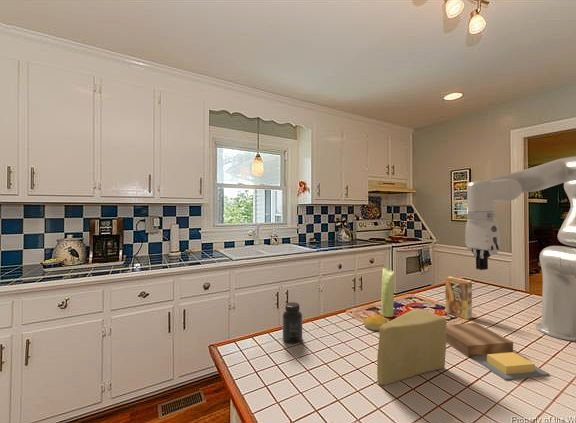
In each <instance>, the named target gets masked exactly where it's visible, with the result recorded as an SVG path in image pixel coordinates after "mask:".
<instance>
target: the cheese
mask: <svg viewBox="0 0 576 423" xmlns="http://www.w3.org/2000/svg"><path fill="white" fill-rule="evenodd" d="M446 325H447V320H446V317H443V316H442V315H438V314H436V313H433V312H430V311H428V310H425V309H422V308H417V307H416V308H413V309H411V310H410V311H407V312H405V313H402V314H401V315H399V316H397V317H395V318H393V319H392V320H389V321H388V322H387V323H385V324H383V325H382V326H381V327H380V331H379V336H378V344H377V345H378V346H377V348H378V349H377V360H376V361H377V364H376V367H377V368H376V369H377V370H376V372H377V373H376V374H377V376H376V377H377V379H376V380H377V383H378V384H380V385H381V386H386V385H389V384H393V383H395V382H396V383H397V382H399V381H403V380H405V379H408V378H411V377H414V376H417V375H420V374H424V373H428V372H433V371H437V370H441V369H445V366H446V354H447V351H446V350H447V343H446Z"/></svg>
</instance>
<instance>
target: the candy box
mask: <svg viewBox="0 0 576 423" xmlns="http://www.w3.org/2000/svg"><path fill="white" fill-rule="evenodd" d="M472 299H473V281H472V280H469V279H464V278H459V277H454V276H448V277H445V313H446V312H447V313H446V314H449V313H451V315H453V316H456V317H460V318H462V319H464V320H465V319H466V320H469V319H471V318H472V316H473V315H472V313H473V308H472V307H473V300H472Z"/></svg>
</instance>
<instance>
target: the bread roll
mask: <svg viewBox="0 0 576 423" xmlns="http://www.w3.org/2000/svg"><path fill="white" fill-rule="evenodd" d="M387 322H389V321H388V319H386V317H385V316H383V315H381V314H373V315H370V316H367V317H365V318H364V319H363V325H364V326H365V328H366V329H368V330H371V331H377V332H380V327H381V326H382V325H383V324H385V323H387Z"/></svg>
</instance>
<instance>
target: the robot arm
mask: <svg viewBox="0 0 576 423" xmlns="http://www.w3.org/2000/svg"><path fill="white" fill-rule="evenodd" d="M562 184H563V189H564V191H565V193H566V195H567V197H568V200H569V203H570V208H569V211H568V213H567V215H566V217H565V218H564V220H563V222H562V224H561V227H560V229H559V230H558V233H557V240H558V241H559V242H560V243H562V244H563V245H566V246H563V245H549V246H547V247H544V248H543V249H542V250H541V251H540V253H539V257H538V258H539V263H540V268H541V274H542V295H541V297H542V298H541V300H542V301H541V322H538V323H536V324H535V328H536V329H537V330H538V331H539V332H541V333H542V334H546V335H548V336H550V337H552V338H553V337H554V338H556V339H560V340H566V341H570V342H572V341H573V342H576V155H575V156H569V157H564V158H559V159H555V160H552V161H549V162H545V163H542V164H539V165H536V166H532V167H530V168H526V169H521V170H518V171H514V172H512V173H507V174H504V175H499V176H496V177H491V178H489V179H486V180H474V181H470V182H468V183H467V189H466V190H467V194H466V195H467V197H466V199H467V221H466V223H465V230H464V231H465V234H464V235H465V237H464V242H465V247H466V249H467V251H470V252H472V254H473V257H474V258H475V270H480V271H485V270H488V268H489V266H488V265H489V264H488V263H489V260H488V259H489V258H491V256H492V255H493V256H494V255H498V251H499V250H500V249H501V246H502V244H501V241H502V240H501V234H500V228H499V224H498V220H496V218H497V214H496V213H495V202H510V201H515V200H517V199H518V198H520V196H521V195H522V194H523V193H533V192H539V191H542V190H543V191H544V190H545V189H546V190H547V189H548V188H551V187H552V188H553V187H554V186H558V185H562Z"/></svg>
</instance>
